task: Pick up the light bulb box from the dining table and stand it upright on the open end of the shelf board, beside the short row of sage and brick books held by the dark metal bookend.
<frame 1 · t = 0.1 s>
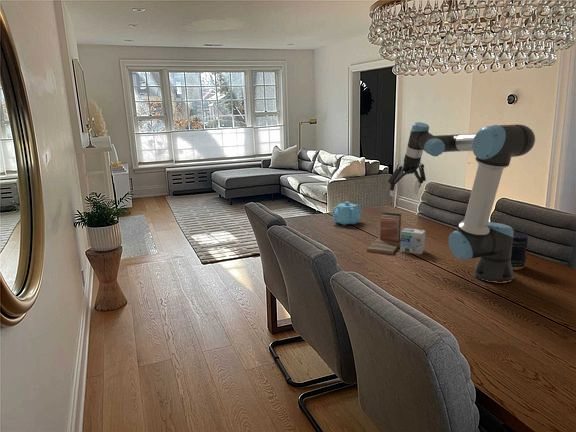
hand: (403, 194, 221), 28 cm above the table, tool tilted 20°, fingers open, 13 cm apart
decorative pot: (346, 223, 277), on the table
shelf board: (385, 246, 230), on the table
light bulb box: (412, 251, 222), on the table
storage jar: (512, 267, 199), on the table
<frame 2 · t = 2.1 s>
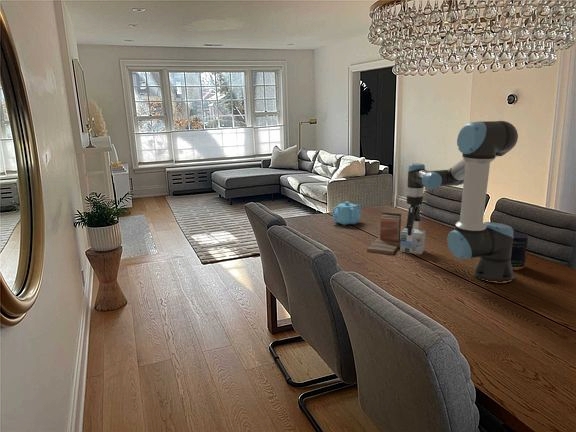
hand: (412, 237, 221), 7 cm above the table, tool pointing down, fingers open, 13 cm apart
nothing on the table moved.
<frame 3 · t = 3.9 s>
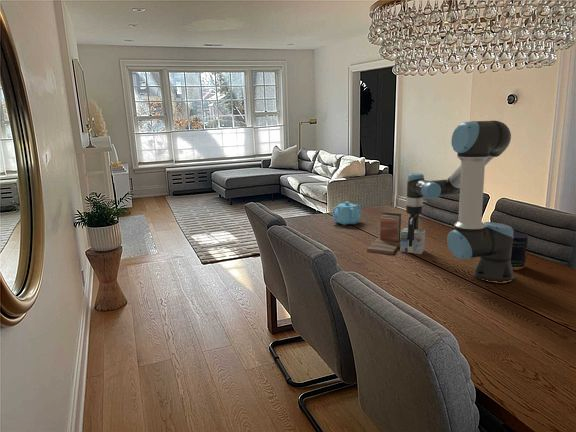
hand: (412, 250, 222), 1 cm above the table, tool pointing down, fingers closed on light bulb box, 7 cm apart
light bulb box: (411, 251, 222), on the table, touching gripper
everything else where it was.
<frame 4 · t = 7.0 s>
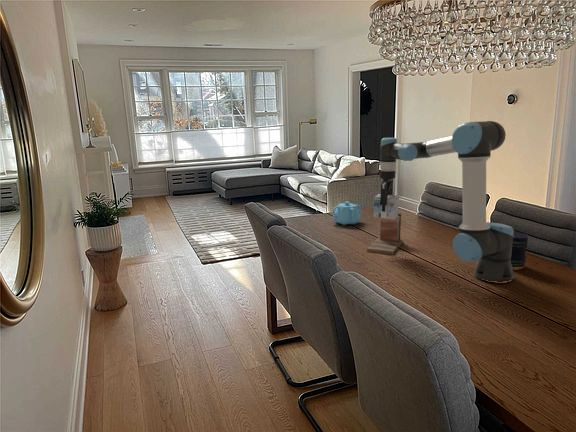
hand: (385, 215, 222), 17 cm above the table, tool pointing down, fingers closed on light bulb box, 7 cm apart
light bulb box: (385, 217, 222), point 17 cm above the table, touching gripper
everything else where it was.
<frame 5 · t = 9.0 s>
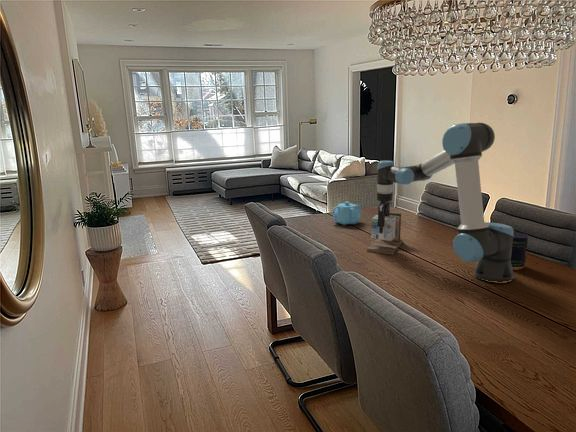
hand: (383, 237, 224), 7 cm above the table, tool pointing down, fingers closed on light bulb box, 7 cm apart
light bulb box: (383, 238, 225), point 6 cm above the table, touching gripper
everything else where it was.
when the fingers open (3 cm above the table, at t = 10.4 s): light bulb box drops 1 cm, resting on shelf board.
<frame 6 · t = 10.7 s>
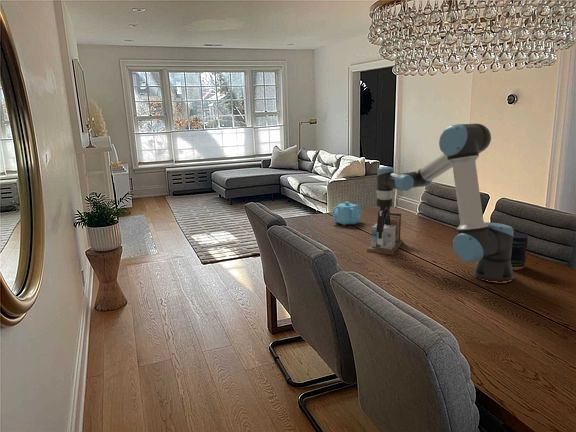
hand: (383, 241, 225), 4 cm above the table, tool pointing down, fingers open, 10 cm apart
light bulb box: (383, 246, 226), point 1 cm above the table, touching shelf board
everything else where it was.
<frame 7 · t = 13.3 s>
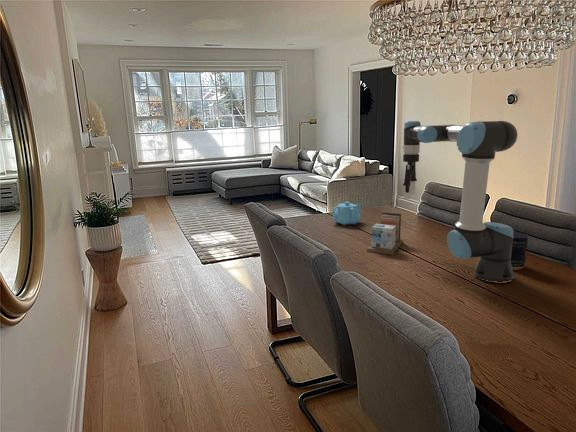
hand: (409, 196, 221), 27 cm above the table, tool pointing down, fingers open, 13 cm apart
nothing on the table moved.
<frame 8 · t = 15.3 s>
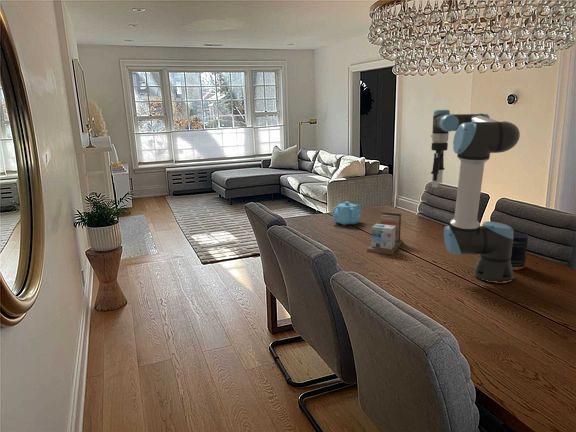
hand: (437, 184, 223), 32 cm above the table, tool pointing down, fingers open, 13 cm apart
nothing on the table moved.
at the end: light bulb box inside the target area on the shelf board (0.2 cm from its centre), point 1.3 cm above the shelf board's base; light bulb box tilted 0°; the gripper is holding nothing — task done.
